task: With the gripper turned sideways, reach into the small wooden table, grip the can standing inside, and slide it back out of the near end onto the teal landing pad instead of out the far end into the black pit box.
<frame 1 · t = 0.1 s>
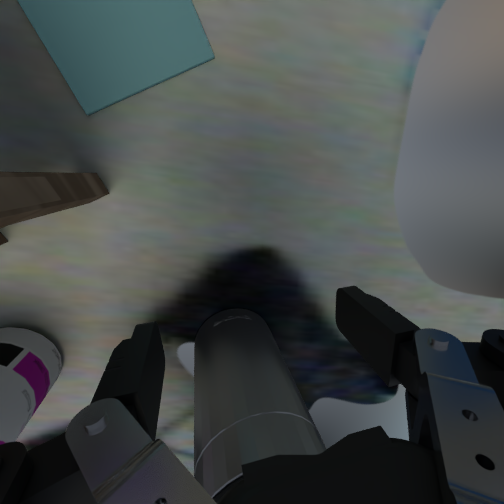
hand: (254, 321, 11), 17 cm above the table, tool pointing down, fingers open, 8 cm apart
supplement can: (21, 357, 27), on the table
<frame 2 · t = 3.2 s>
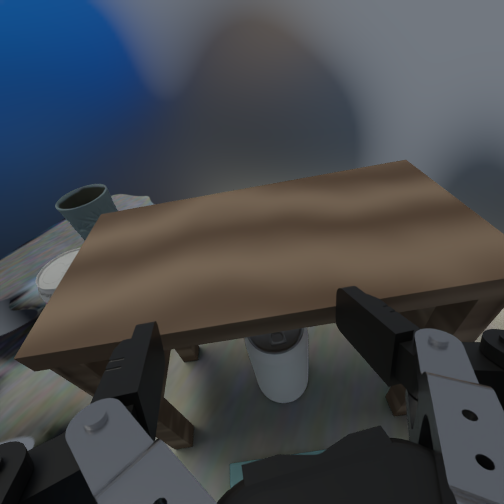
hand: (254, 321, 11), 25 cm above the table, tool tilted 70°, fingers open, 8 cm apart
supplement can: (125, 331, 42), on the table
can: (282, 377, 33), on the table
grey green cup: (111, 240, 62), on the table
small wooden table: (282, 376, 33), on the table
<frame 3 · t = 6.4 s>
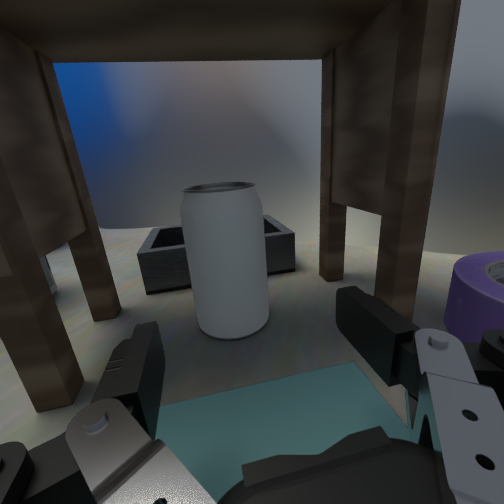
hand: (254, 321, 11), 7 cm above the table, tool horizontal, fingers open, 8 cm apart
can: (234, 321, 24), on the table
small wooden table: (234, 319, 24), on the table
pit box: (219, 264, 37), on the table
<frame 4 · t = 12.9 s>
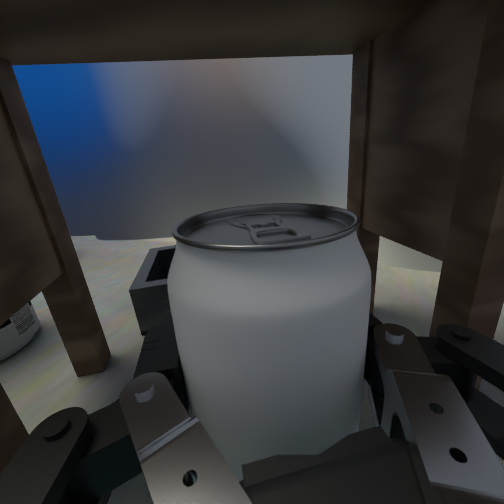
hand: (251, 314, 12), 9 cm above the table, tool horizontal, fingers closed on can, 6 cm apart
can: (277, 475, 12), point 1 cm above the table, touching gripper
small wooden table: (246, 377, 20), on the table
pit box: (226, 291, 33), on the table
when the fingers open (8 cm above the table, at t = 16.0 s): can stays where it is, resting on landing pad.
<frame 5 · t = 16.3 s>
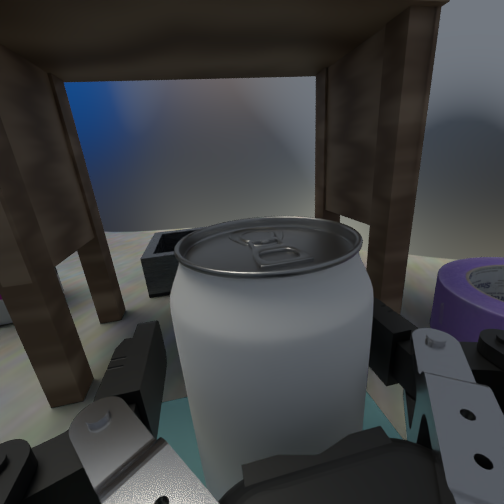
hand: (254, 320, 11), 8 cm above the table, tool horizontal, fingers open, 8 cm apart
can: (280, 484, 12), resting on landing pad
small wooden table: (233, 321, 25), on the table
landing pad: (275, 487, 12), on the table
pit box: (219, 268, 38), on the table
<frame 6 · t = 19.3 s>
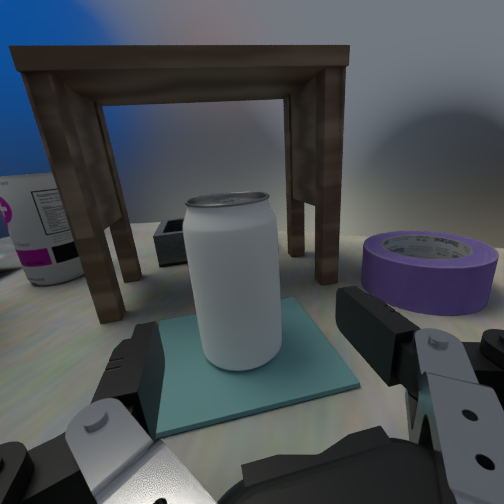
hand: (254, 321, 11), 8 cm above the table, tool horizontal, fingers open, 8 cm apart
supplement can: (63, 276, 41), on the table
can: (243, 346, 22), resting on landing pad
small wooden table: (222, 279, 35), on the table
tape roll: (417, 288, 29), on the table
landing pad: (240, 348, 22), on the table
pit box: (214, 247, 48), on the table
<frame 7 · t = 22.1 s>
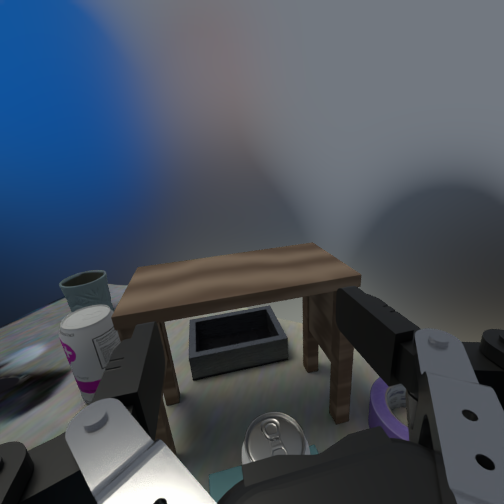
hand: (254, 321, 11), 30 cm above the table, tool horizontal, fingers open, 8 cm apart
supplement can: (110, 388, 47), on the table
grey green cup: (96, 319, 70), on the table
small wooden table: (251, 407, 41), on the table
tape roll: (414, 434, 36), on the table
pit box: (237, 348, 54), on the table
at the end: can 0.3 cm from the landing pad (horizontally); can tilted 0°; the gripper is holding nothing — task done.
